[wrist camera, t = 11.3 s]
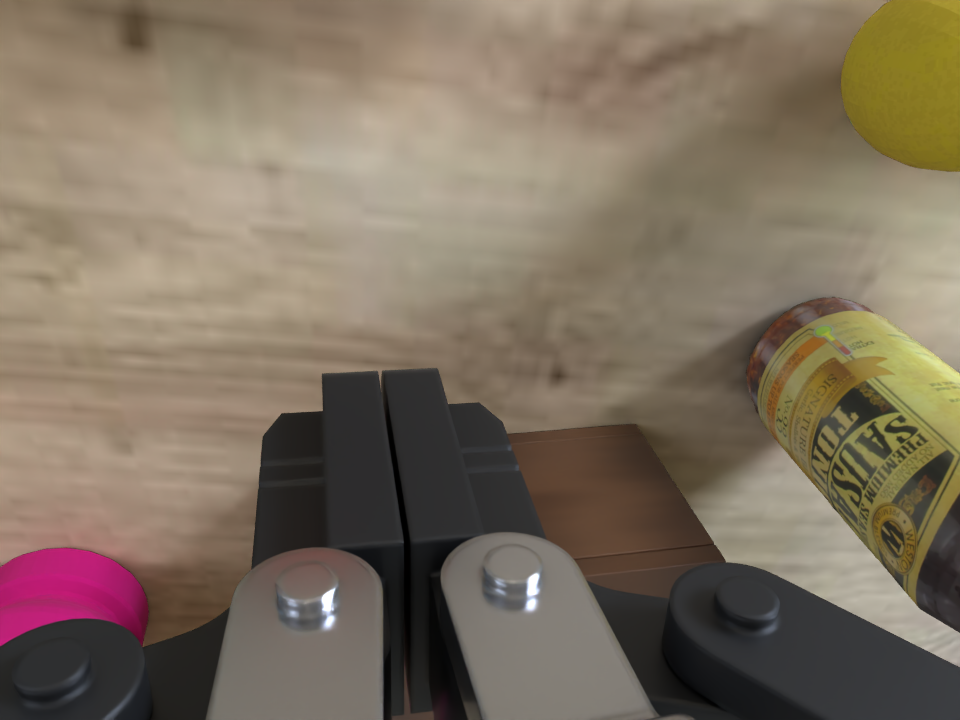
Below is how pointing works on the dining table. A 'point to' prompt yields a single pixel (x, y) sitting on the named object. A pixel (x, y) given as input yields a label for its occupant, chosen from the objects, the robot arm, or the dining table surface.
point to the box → (604, 492)
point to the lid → (626, 581)
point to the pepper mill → (68, 592)
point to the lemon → (907, 82)
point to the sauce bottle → (871, 436)
